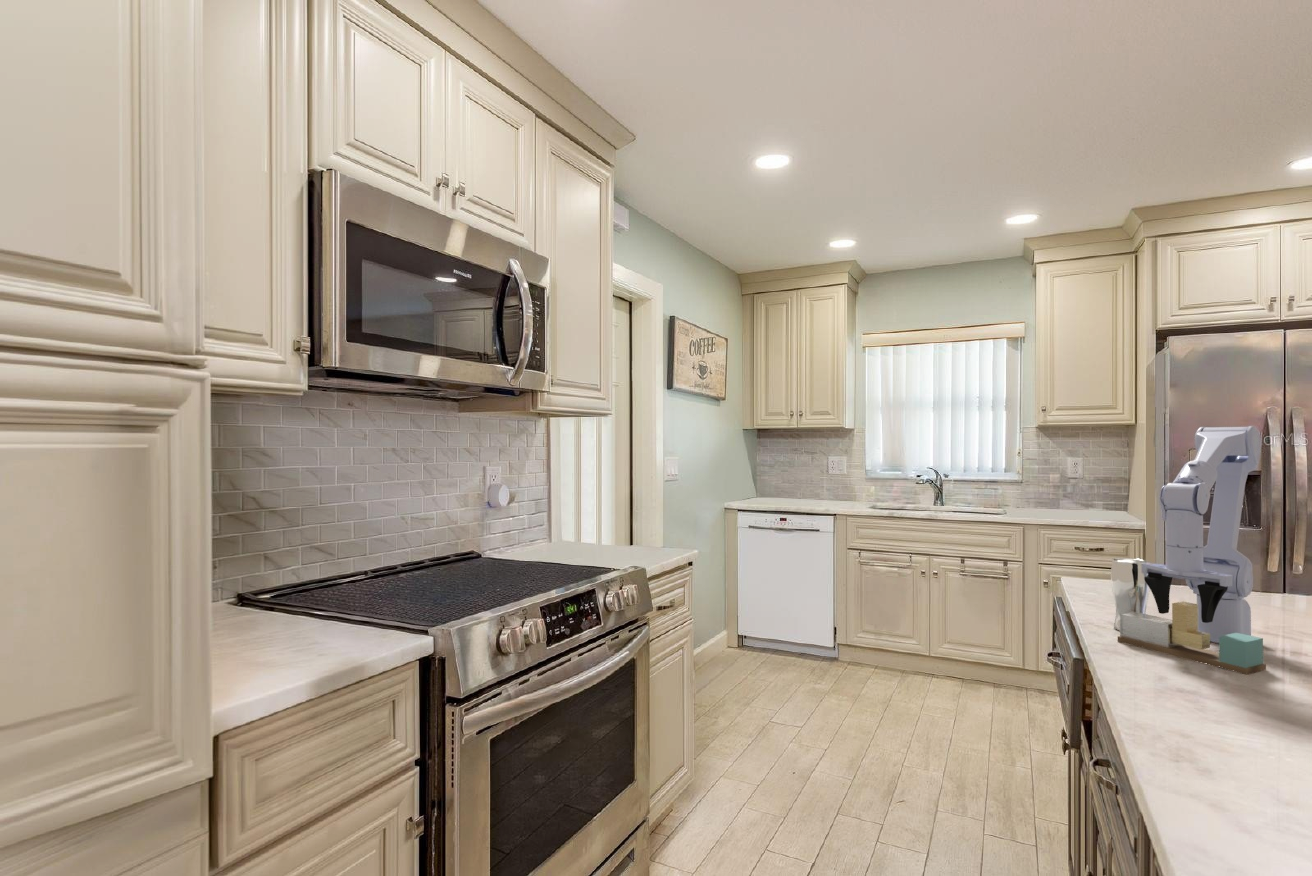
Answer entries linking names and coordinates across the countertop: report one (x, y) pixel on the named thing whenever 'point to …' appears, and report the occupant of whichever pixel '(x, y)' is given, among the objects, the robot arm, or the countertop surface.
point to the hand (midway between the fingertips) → (1184, 617)
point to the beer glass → (1128, 587)
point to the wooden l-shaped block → (1187, 626)
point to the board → (1193, 655)
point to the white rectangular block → (1146, 628)
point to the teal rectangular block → (1241, 650)
